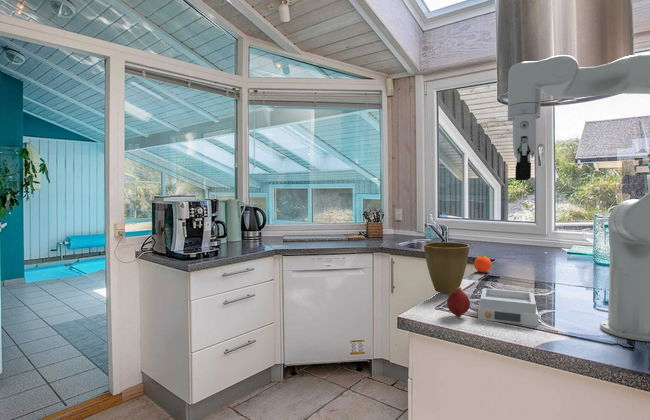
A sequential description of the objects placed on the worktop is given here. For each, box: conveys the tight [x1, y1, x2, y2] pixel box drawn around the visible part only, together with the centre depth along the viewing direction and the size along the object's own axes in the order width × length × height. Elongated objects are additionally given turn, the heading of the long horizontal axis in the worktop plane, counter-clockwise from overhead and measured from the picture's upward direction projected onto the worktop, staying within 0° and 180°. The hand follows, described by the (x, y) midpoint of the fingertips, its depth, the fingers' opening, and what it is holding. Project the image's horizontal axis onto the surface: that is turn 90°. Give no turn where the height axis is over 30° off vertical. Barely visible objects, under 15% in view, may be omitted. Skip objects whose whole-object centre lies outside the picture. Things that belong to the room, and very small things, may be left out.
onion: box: [446, 286, 471, 318], centre depth 106 cm, size 6×6×8 cm
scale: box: [477, 287, 539, 327], centre depth 107 cm, size 14×14×5 cm
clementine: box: [473, 255, 493, 274], centre depth 168 cm, size 8×7×7 cm
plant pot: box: [423, 241, 470, 295], centre depth 134 cm, size 15×15×16 cm
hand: (522, 179), depth 102 cm, fingers open, 9 cm apart
